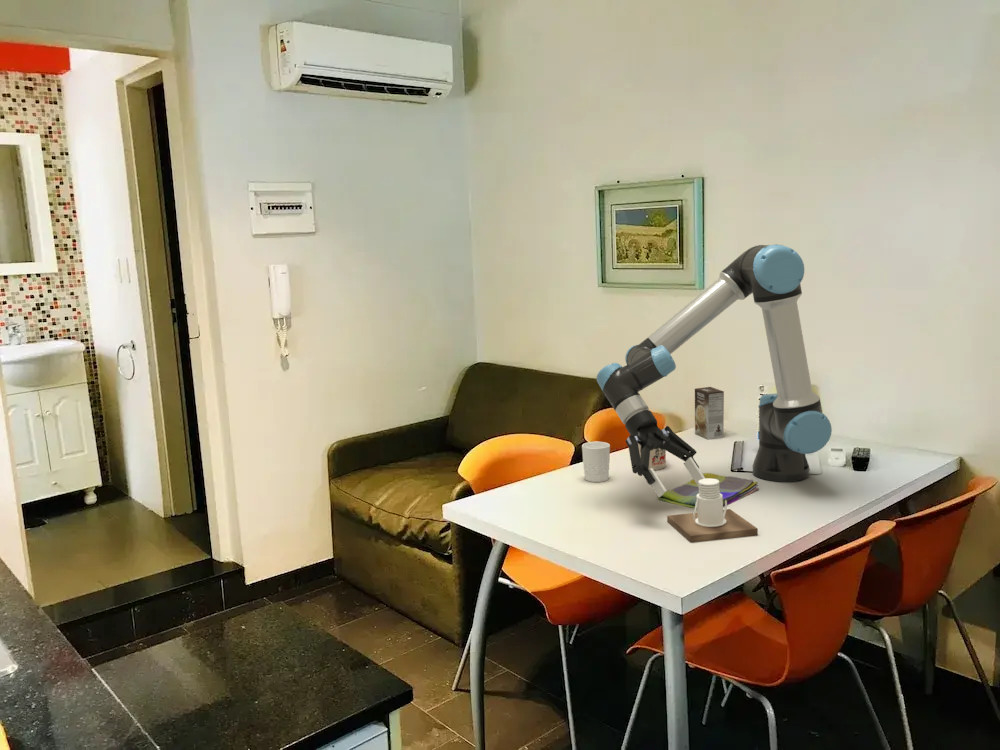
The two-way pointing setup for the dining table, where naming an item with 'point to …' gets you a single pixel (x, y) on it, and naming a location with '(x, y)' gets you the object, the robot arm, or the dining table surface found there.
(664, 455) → the teacup with lid
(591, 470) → the white cup
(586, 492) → the dining table surface
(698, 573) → the dining table surface
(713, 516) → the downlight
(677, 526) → the walnut board
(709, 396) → the coffee box
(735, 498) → the dish towel
